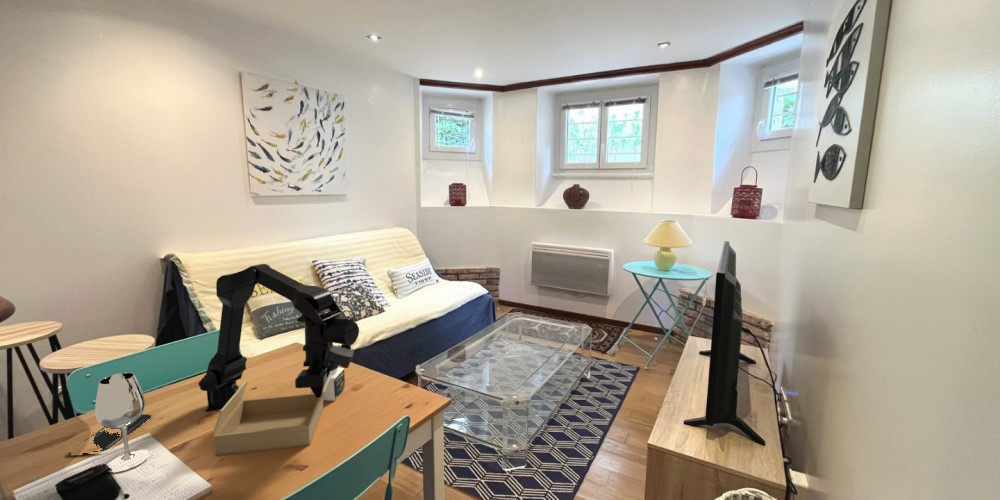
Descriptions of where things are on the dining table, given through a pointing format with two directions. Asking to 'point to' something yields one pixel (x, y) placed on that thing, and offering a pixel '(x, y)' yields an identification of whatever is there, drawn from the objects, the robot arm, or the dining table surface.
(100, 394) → the wineglass
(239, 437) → the carton
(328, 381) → the flap far
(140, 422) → the phone
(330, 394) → the medicine bottle
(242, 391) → the flap near
